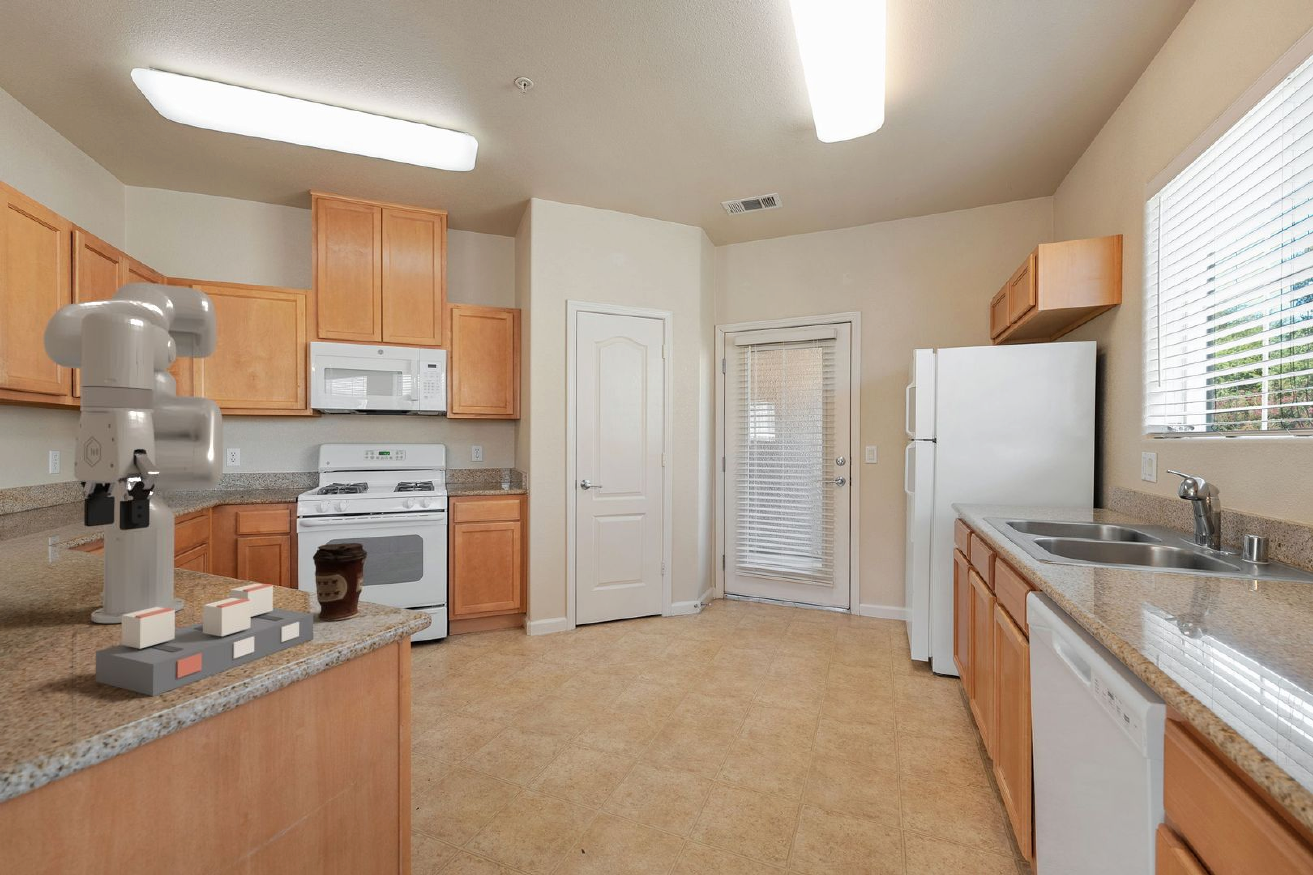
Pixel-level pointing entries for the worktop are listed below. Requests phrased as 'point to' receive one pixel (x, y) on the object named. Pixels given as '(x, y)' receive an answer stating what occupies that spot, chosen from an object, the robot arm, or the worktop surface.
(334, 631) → the worktop surface
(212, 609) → the white red-striped block
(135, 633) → the white box
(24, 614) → the worktop surface
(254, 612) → the white red-striped block
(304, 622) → the console
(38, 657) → the worktop surface
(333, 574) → the coffee cup
